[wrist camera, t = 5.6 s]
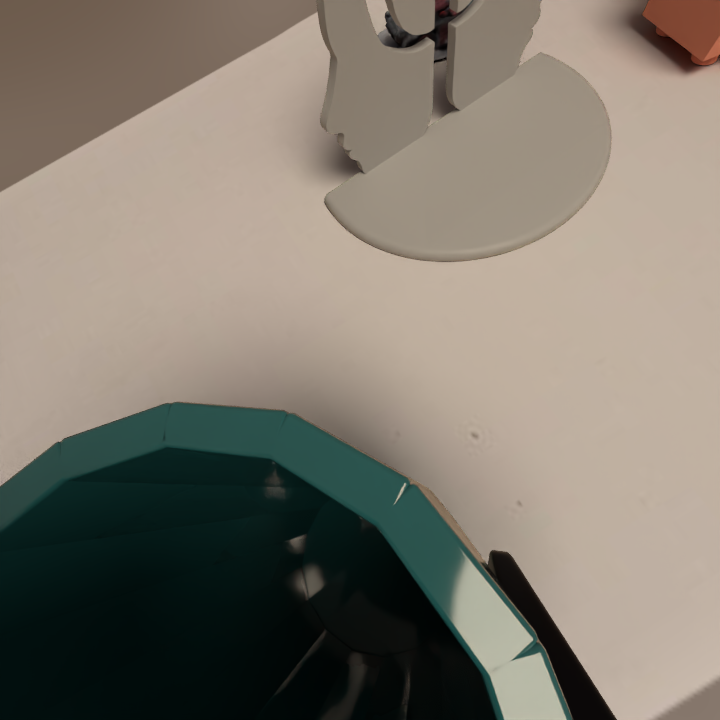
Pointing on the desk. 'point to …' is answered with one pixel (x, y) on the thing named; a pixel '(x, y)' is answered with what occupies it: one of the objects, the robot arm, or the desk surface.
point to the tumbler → (248, 583)
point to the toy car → (439, 34)
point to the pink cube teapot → (689, 25)
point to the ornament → (458, 131)
